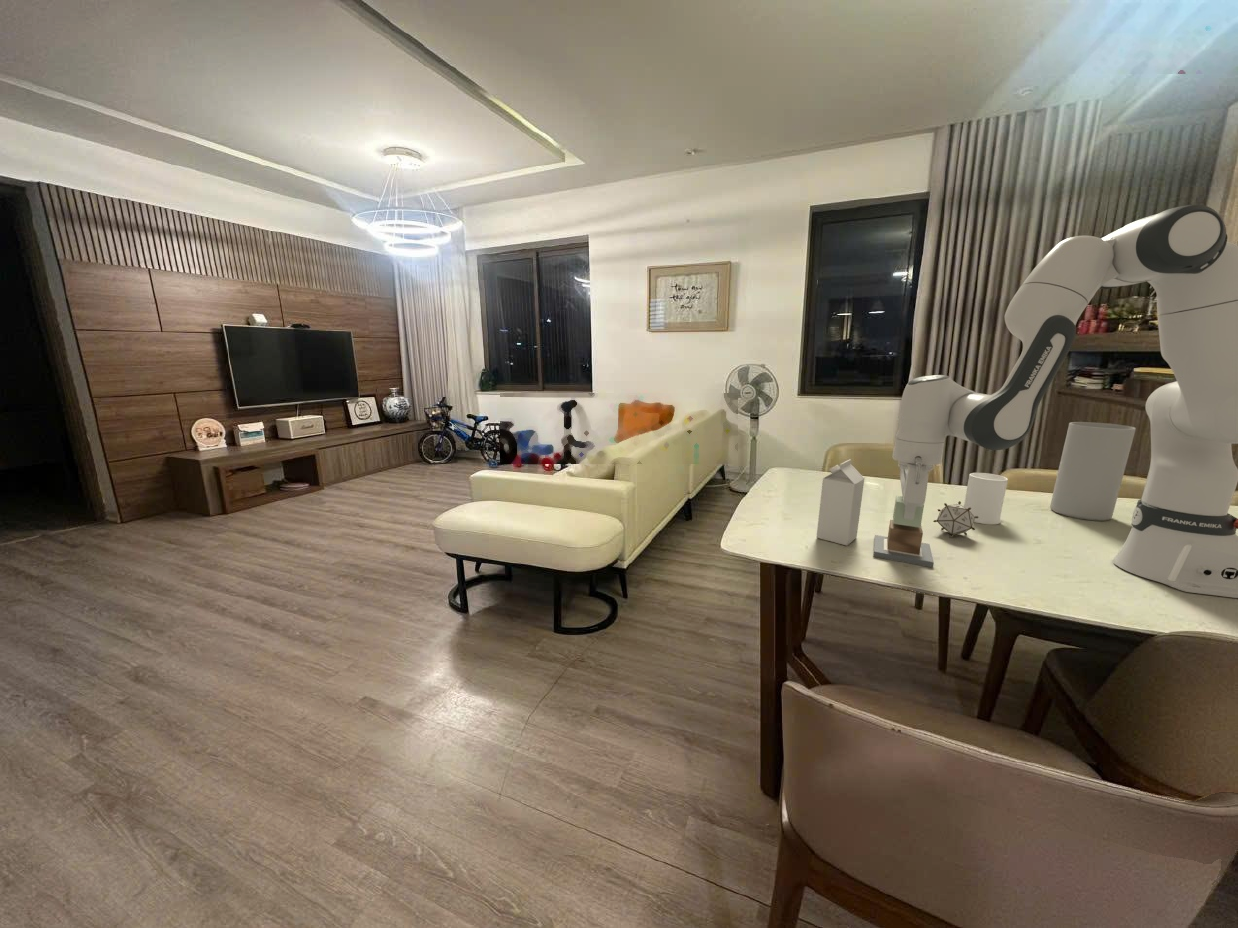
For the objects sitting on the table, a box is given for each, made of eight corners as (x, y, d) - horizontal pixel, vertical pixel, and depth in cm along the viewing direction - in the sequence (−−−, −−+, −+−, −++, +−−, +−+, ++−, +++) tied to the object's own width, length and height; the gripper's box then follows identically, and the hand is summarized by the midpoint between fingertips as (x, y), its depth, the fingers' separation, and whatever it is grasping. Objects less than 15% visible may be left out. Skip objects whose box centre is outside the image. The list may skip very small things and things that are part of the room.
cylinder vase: (1038, 505, 137) (1057, 421, 131) (1086, 507, 136) (1107, 422, 130) (1072, 520, 125) (1094, 428, 119) (1125, 523, 124) (1150, 429, 118)
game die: (959, 550, 115) (992, 529, 107) (926, 536, 116) (955, 514, 108) (955, 523, 121) (985, 501, 113) (923, 510, 121) (951, 487, 114)
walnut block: (917, 545, 105) (921, 524, 104) (919, 555, 100) (922, 533, 99) (887, 540, 108) (890, 519, 107) (887, 549, 103) (890, 528, 102)
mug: (985, 511, 132) (994, 470, 129) (1017, 522, 124) (1027, 478, 121) (952, 515, 129) (960, 473, 126) (983, 526, 121) (992, 481, 118)
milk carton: (856, 538, 113) (866, 461, 108) (847, 546, 108) (857, 466, 103) (826, 530, 117) (835, 456, 113) (816, 538, 112) (824, 461, 108)
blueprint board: (928, 548, 107) (929, 543, 106) (932, 567, 97) (933, 561, 97) (874, 539, 112) (874, 534, 111) (873, 556, 102) (874, 551, 102)
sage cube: (918, 520, 104) (922, 499, 103) (920, 527, 99) (923, 505, 98) (893, 516, 106) (896, 495, 105) (893, 523, 102) (896, 501, 101)
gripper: (940, 464, 89) (928, 532, 92) (930, 446, 106) (921, 503, 109) (901, 460, 92) (891, 526, 95) (898, 443, 109) (890, 499, 112)
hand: (907, 514), depth 102 cm, fingers closed on sage cube, 5 cm apart
